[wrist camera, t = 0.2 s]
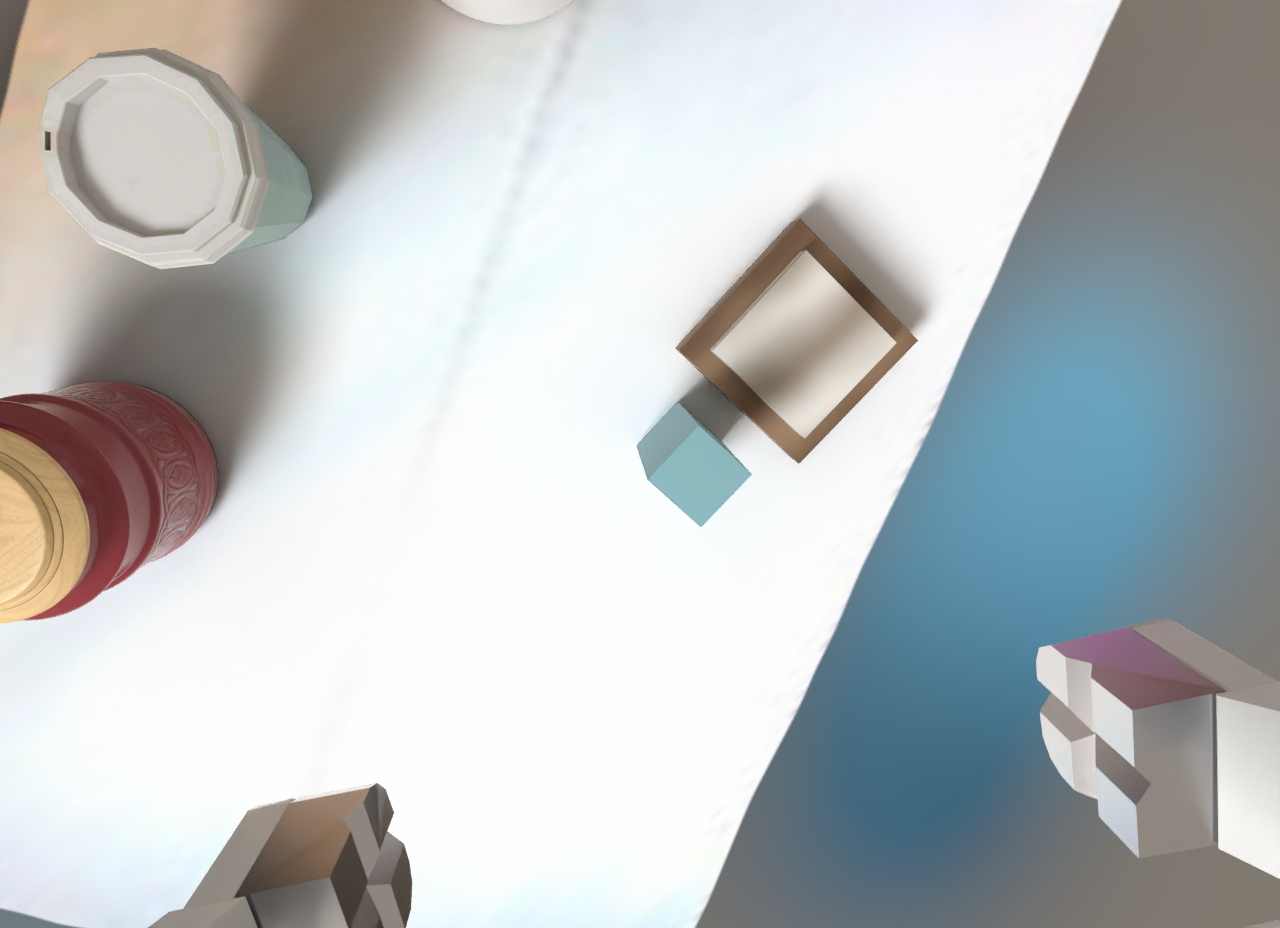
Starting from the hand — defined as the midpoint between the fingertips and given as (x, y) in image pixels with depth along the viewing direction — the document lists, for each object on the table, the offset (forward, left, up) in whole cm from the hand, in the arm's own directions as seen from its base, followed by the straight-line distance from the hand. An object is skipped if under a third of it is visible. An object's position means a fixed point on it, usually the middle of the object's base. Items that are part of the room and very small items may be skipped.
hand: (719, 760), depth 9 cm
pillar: (+6, +4, -48) cm, 49 cm away
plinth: (+1, +13, -48) cm, 50 cm away
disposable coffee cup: (-17, -20, -48) cm, 55 cm away
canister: (-1, -35, -48) cm, 60 cm away
